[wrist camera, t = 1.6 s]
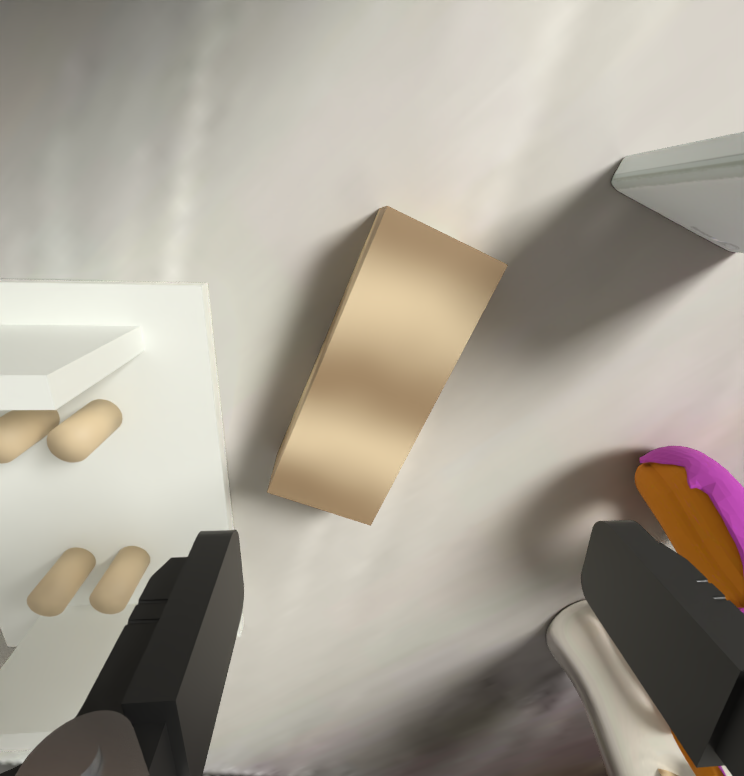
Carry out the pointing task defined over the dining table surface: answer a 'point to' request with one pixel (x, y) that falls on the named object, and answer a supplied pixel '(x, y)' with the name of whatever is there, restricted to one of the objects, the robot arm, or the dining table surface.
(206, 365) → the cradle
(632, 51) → the dining table surface
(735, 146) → the external hard drive
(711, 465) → the donut
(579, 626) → the beer glass
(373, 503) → the plank
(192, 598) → the robot arm
